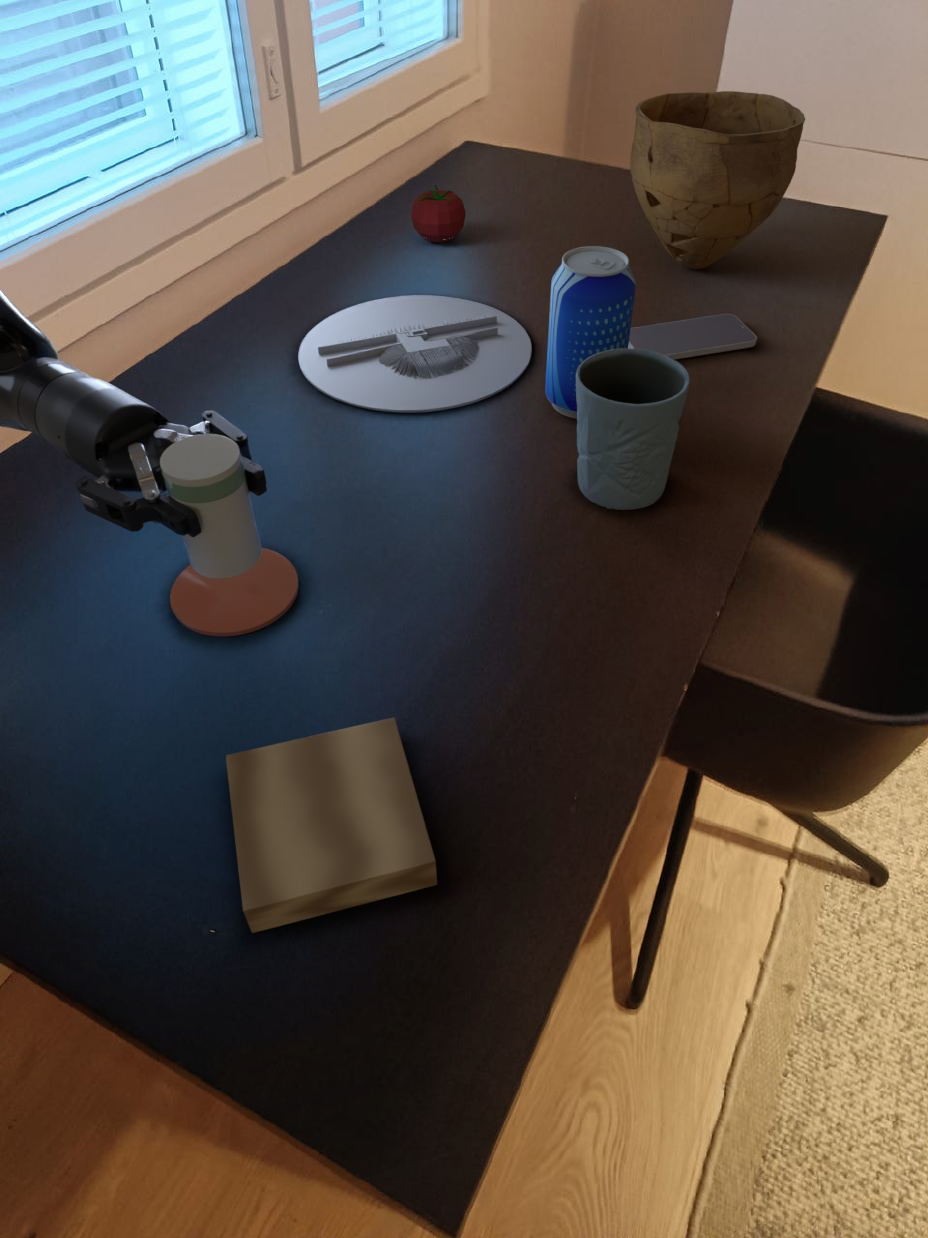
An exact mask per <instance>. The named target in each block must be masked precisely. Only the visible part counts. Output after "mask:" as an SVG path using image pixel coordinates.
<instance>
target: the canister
mask: <svg viewBox="0 0 928 1238" xmlns="http://www.w3.org/2000/svg"><path fill="white" fill-rule="evenodd" d="M160 467H161V472H162V476H163V479H164V482H165V485H166V488H167V490H166V491H167V492H168V495H169V496H170V497H172V498H173V499H175V500H176V501H178V502H180V503H182V504H183V505H185V506H186V507H188V508H190V509H191V510H193V511H194V512H195V513H196V515H197V517H198V520H199V524H200V527H201V531H202V532H201V533H200V534H199V535H197V536H195V537H194V538H193V537H191V536H189V535H188V534H186V535H185V536H183V535H181V538H182V542H183V544H184V548H185V552H186V554H187V557H188V561H189V565H190V564H191V566H192V568H193V569H194V570H195V571H196V572H197V573H199V574H200V575H202V576H205V577H209V578H216V579H221V578H230V577H234V576H237V575H240V574H242V573H244V572H246V571H248V570H249V569H251V568H252V567H253V566H254V565H255V564H256V563H257V562H258V561H259V559H260V557H261V554H262V548H263V547H262V542H261V537H260V534H259V533H260V532H259V528H258V525H257V520H256V516H255V512H254V507H253V503H252V499H251V493H250V491H249V489H248V485H247V480H246V476H245V469H244V464H243V460H242V456H241V453H240V450H239V447H238V445H237V444H236V443H235V442H234V441H233V440H231V439H230V438H227V437H225V436H221V435H216V434H201V435H194V436H190V437H187V438H184V439H181V440H179V441H177V442H175V443H173V444H172V445H170V446H169V447H168V448H167V449H166V450H165V451H164V452H163V454H162V456H161V458H160Z"/></svg>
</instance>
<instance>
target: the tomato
mask: <svg viewBox="0 0 928 1238" xmlns="http://www.w3.org/2000/svg"><path fill="white" fill-rule="evenodd" d="M434 188H435V189H427V191H425V192H422V193H421V194H420V195H418V196H417V197H416V198H415V199H414V200H413V203H412V207H411V212H410V213H411V214H410V219H411V222H412V225H413V226H412V227H413V229H414V230H415V231H416V232H417V233H418V234H419V236H421V238H423V237H425V238H423V239H424V240H426V241H428V242H433V243H442V242H449V241H452V240H454V239H455V238H456V237H457V236H458V235H459V233H460V232H461V231H462V230H463V229H464V227H465V221H466V216H467V215H466V209H465V205H464V202H463V199H462V198H461V197H459V196H458V195H457V194H456V193H455V192H454V191H452V190H448V189H447V190H444V189H438V185H437V184H434ZM454 236H455V237H454ZM452 237H453V238H452ZM426 238H427V239H426ZM449 238H450V239H449ZM443 239H446V240H443Z"/></svg>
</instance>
